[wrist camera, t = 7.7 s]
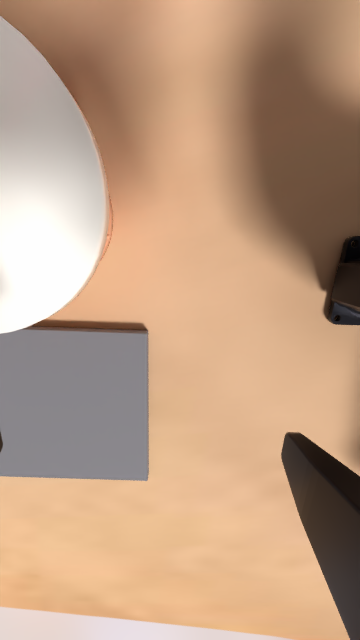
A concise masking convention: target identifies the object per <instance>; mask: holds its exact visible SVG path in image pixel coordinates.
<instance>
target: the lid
mask: <svg viewBox="0 0 360 640" xmlns="http://www.w3.org/2000/svg"><path fill="white" fill-rule="evenodd" d="M108 225H109V192H108V182H107V177H106V173H105V168H104V164H103V160H102V157H101V154H100V151H99V148H98V145H97V142H96V139H95V137H94V135H93V133H92V130H91V128H90V126H89V124H88V122H87V120H86V118H85V116H84V114H83V113H82V111H81V109H80V108H79V106H78V104H77V103H76V101H75V100H74V98H73V96H72V95H71V94H70V92H69V91H68V89H67V88H66V86H65V85H64V83H63V82H62V81H61V79H60V78H59V76H58V75H57V74H56V72H55V71H54V70H53V68H52V67H51V66H50V65H49V63H48V62H47V61H46V59H45V58H44V57H43V55H42V54H41V53H40V52H39V51H38V50H37V49H36V48H35V47H34V46H33V45H32V44H31V43H30V42H29V41H28V40H27V39H26V37H25V36H24V35H23V34H22V33H20V32H19V31H18V30H17V29H15V28H14V27H13V26H12V25H11V24H9V23H8V22H7V21H6V20H5V19H3V18H2V17H1V16H0V334H1V333H8V332H13V331H16V330H19V329H23V328H26V327H28V326H30V325H33V324H35V323H37V322H39V321H41V320H43V319H45V318H47V317H50V316H52V315H54V314H55V313H57V312H58V311H60V310H61V309H63V308H64V307H66V306H67V305H68V304H69V303H70V302H72V301H73V300H74V299H75V298H76V297H77V296H78V295H79V294H80V293H81V291H82V290H83V289H84V288H85V287H86V285H87V284H88V282H89V281H90V279H91V277H92V276H93V274H94V272H95V271H96V268H97V266H98V264H99V261H100V259H101V257H102V254H103V250H104V247H105V243H106V239H107V232H108Z"/></svg>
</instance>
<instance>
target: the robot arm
mask: <svg viewBox="0 0 360 640" xmlns="http://www.w3.org/2000/svg"><path fill="white" fill-rule="evenodd" d="M352 241H354V246H353V247H352V246H351V243H352ZM331 299H332V300H331V305H330V309H329V314H328V320H329V322H331V323H333V324H339V325H360V236H353V237H349V238H347V239H346V240H345V242H344V246H343V250H342V255H341V260H340V264H339V266H338V269H337V273H336V278H335V282H334V287H333V291H332V296H331ZM336 315H337V319H335V320H334V317H335V316H336ZM2 447H3V441H2V436H1V431H0V452H1V450H2ZM281 456H282V462H283V465H284V468H285V472H286V475H287V478H288V481H289V484H290V488H291V491H292V494H293V497H294V500H295V503H296V507H297V510H298V513H299V516H300V518H301V521H302V524H303V526H304V529H305V531H306V534H307V536H308V538H309V541H310V543H311V546H312V548H313V551H314V553H315V555H316V558H317V560H318V563H319V565H320V567H321V570H322V572H323V575H324V577H325V580H326V582H327V584H328V587H329V589H330V592H331V594H332V597H333V599H334V601H335V604H336V606H337V609H338V611H339V614H340V616H341V618H342V621H343V623H344V626H345V628H346V630H347V633H348V635H349V638H350V640H360V476H358V475H357V474H356V473H354V472H353V471H352V470H350V469H349V468H348V467H346V466H345V465H343V464H342V463H341V462H339V461H338V460H337V459H335V458H334V457H333V456H331V455H330V454H328V453H327V452H326V451H324V450H323V449H322V448H320V447H319V446H318V445H316V444H315V443H313V442H312V441H311V440H309V439H308V438H307V437H305V436H304V435H302V434H301V433H296V432H288V433H286V434H285V438H284V443H283V448H282V453H281Z"/></svg>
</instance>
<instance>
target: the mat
mask: <svg viewBox="0 0 360 640" xmlns="http://www.w3.org/2000/svg"><path fill="white" fill-rule="evenodd" d="M0 431H1V436H2V441H3V447H2V450H1V452H0V476H10V477H43V478H76V479H108V480H141V481H147V480H148V473H149V459H148V330H119V329H90V328H62V327H33V326H28V327H26V328H23V329H19V330H16V331H13V332H8V333H1V334H0Z"/></svg>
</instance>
